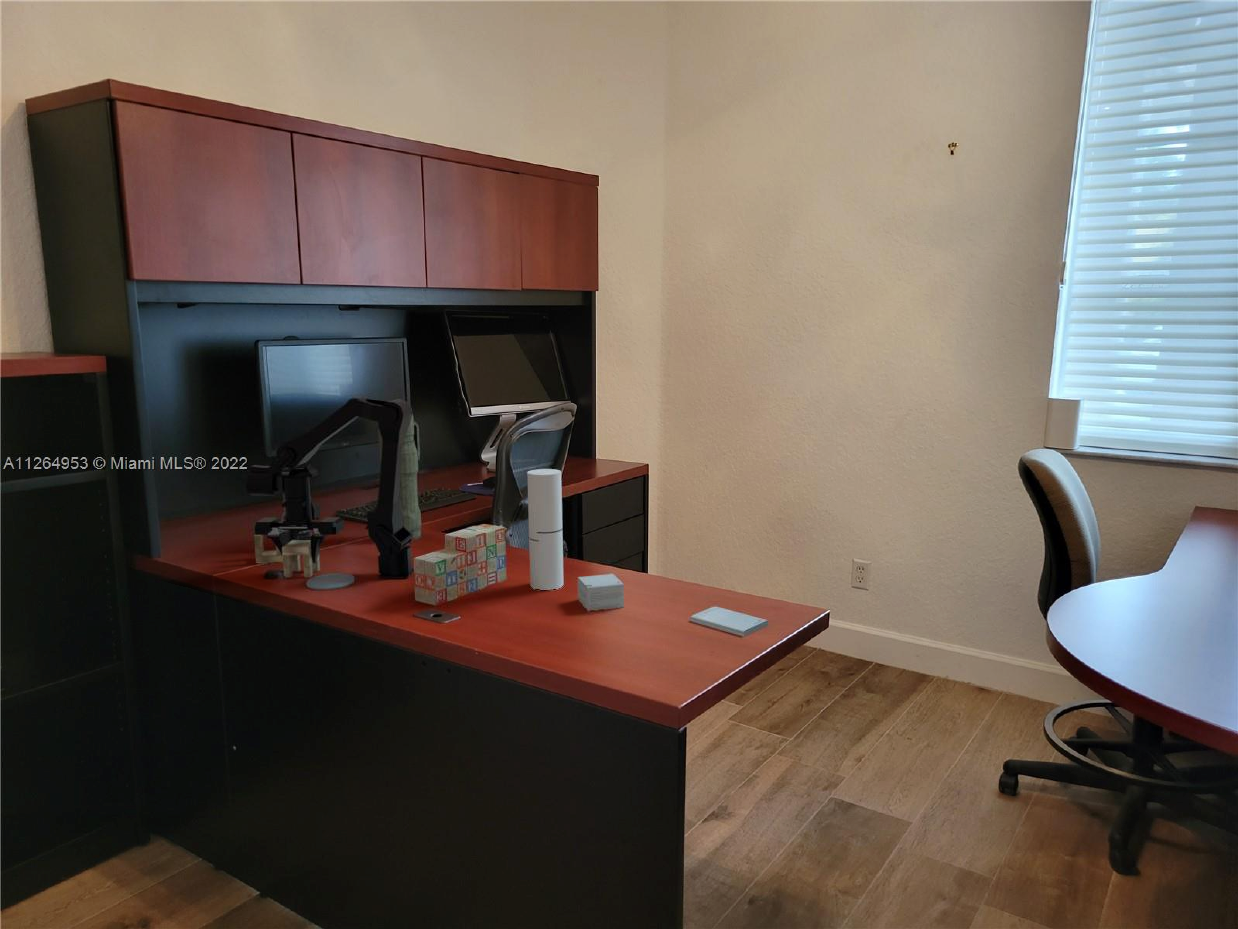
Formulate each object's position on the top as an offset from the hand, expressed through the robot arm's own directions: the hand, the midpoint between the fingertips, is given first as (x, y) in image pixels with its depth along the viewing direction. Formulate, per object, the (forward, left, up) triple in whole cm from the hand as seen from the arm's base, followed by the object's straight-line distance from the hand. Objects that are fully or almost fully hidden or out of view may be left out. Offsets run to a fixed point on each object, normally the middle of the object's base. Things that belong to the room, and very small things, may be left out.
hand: (301, 562), depth 202 cm
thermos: (-15, -33, -3) cm, 36 cm away
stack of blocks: (-39, +12, -3) cm, 41 cm away
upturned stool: (+12, -11, -3) cm, 17 cm away
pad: (-9, +7, -2) cm, 12 cm away
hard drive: (-94, +32, -3) cm, 99 cm away
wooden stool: (0, 0, -2) cm, 2 cm away
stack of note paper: (-69, +21, -3) cm, 72 cm away
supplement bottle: (+10, -23, -3) cm, 25 cm away
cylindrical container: (-57, +9, -3) cm, 58 cm away
